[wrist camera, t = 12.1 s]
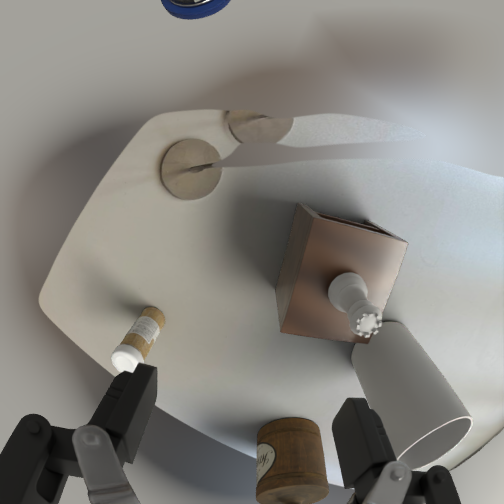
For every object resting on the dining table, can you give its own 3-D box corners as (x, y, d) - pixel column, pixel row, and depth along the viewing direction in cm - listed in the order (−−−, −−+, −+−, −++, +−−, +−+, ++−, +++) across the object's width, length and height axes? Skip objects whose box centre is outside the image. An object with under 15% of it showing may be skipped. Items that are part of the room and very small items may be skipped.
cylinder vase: (364, 381, 50) (403, 479, 26) (339, 345, 47) (381, 459, 23) (415, 347, 47) (473, 434, 23) (396, 307, 44) (471, 402, 20)
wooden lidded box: (297, 202, 40) (313, 217, 28) (371, 221, 40) (408, 242, 29) (275, 290, 44) (280, 332, 32) (344, 302, 44) (368, 344, 33)
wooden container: (251, 421, 54) (248, 506, 33) (318, 412, 52) (334, 496, 31) (262, 452, 58) (261, 523, 37) (319, 444, 57) (331, 515, 36)
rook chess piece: (322, 304, 31) (340, 345, 23) (332, 268, 30) (355, 301, 22) (357, 308, 31) (381, 346, 23) (368, 273, 30) (398, 306, 22)
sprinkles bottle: (155, 332, 47) (128, 381, 34) (137, 314, 46) (104, 360, 33) (171, 319, 46) (145, 369, 33) (152, 301, 45) (120, 346, 32)
